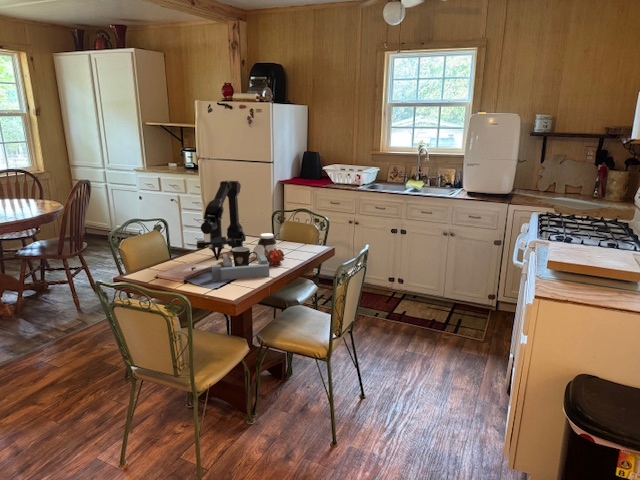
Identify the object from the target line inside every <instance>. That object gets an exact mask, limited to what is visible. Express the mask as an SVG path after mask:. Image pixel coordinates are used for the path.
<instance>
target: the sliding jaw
mask: <svg viewBox="0 0 640 480" xmlns="http://www.w3.org/2000/svg"><path fill="white" fill-rule="evenodd" d="M221 259H222V263H223V268H224V267H234V266H233V262H232V258H231V257H230V256H229V257H228V254H227V253H222V255H221Z"/></svg>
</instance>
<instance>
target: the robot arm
mask: <svg viewBox="0 0 640 480" xmlns="http://www.w3.org/2000/svg"><path fill="white" fill-rule="evenodd" d="M241 188H242V187H241V182H239V181H238V180H222V181H220V183H219V187H218V190H217V192H216V194H215V196H214V198H213V199H212V200H210V201H209V203H208V204H207V205H206V207H205V211H204V215H203V223H202V224H201V225H200V231H201V232H202V233H203V234H204V235H209V241H205V240H202V239H201V240H197V241H196V249H198V250H199V249H205V248H206V247H208V249H209V250H211V251H212V252H213V255H214V258H215V261H219V258H220V255H221V252H222V250H223V249H225V245H227V246H229V247H231V250H229V252H230V253H232V249H233V248H236V247H244V242H246V239H247V238H246V237H247V235H246V233H245V232H244V230H243V226H242V225H241V223H240V217H239V204H238V197H239V194H240V192H241ZM226 198H227V199H228V211H229V213H228V215H229V225H228V227H227V229H226V231H227V232H226V236H227V237H226V236H223V231H222V230H223V229H222V219H223V214H224V202H225V200H226ZM216 249H217V250H216Z"/></svg>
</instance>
